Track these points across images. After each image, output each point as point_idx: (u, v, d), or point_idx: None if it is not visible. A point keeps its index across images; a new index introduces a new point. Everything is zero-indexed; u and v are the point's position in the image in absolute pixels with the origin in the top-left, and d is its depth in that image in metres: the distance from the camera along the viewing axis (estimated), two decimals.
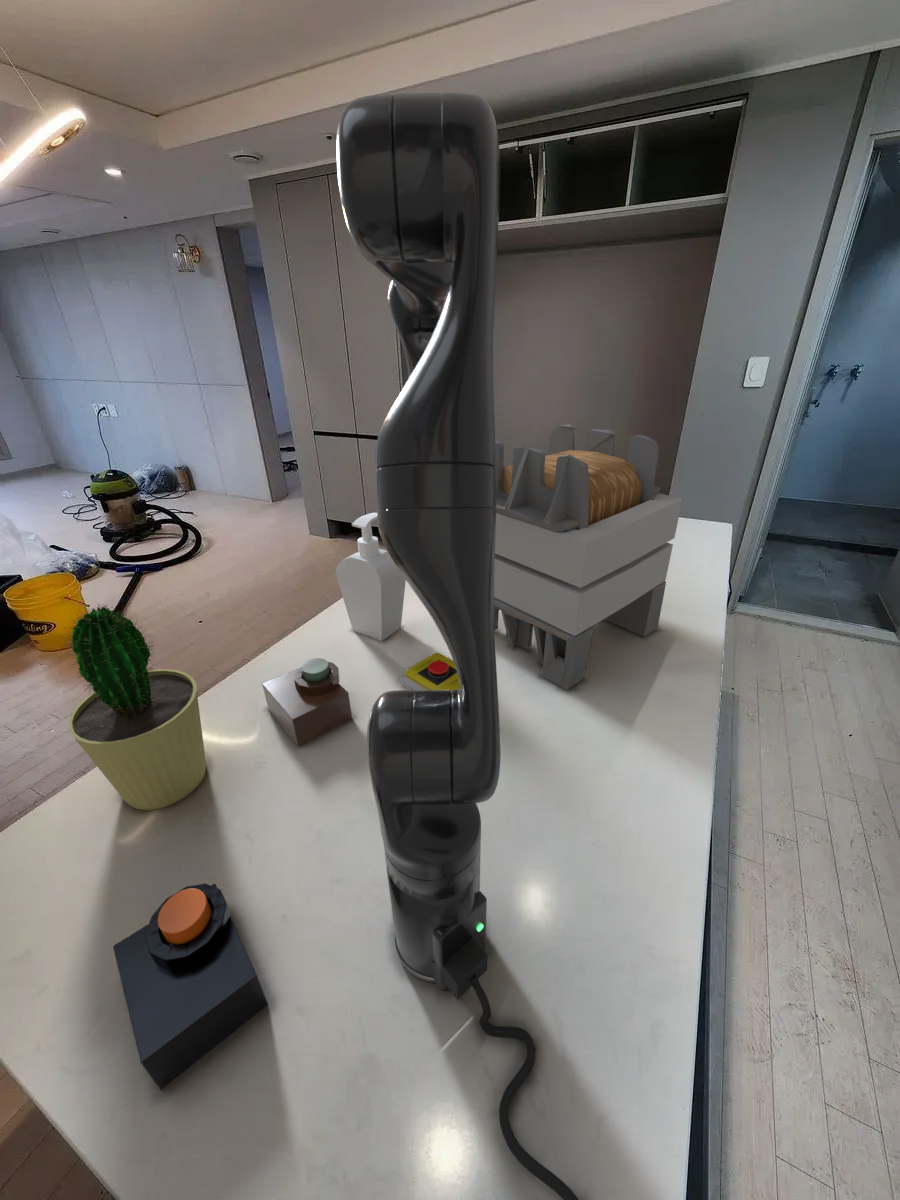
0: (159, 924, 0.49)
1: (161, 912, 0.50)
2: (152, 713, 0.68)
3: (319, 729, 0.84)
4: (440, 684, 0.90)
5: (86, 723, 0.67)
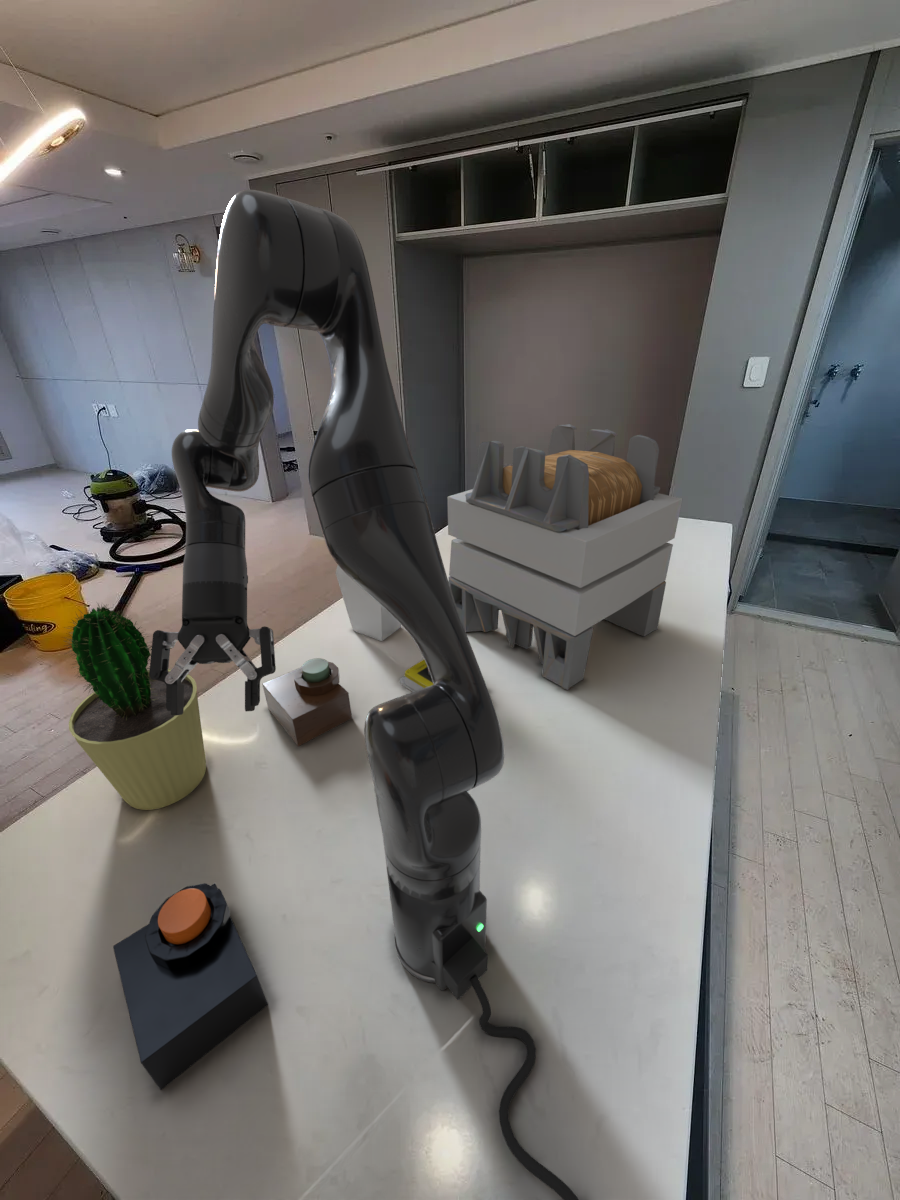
0: (159, 924, 0.49)
1: (161, 912, 0.50)
2: (152, 713, 0.68)
3: (319, 729, 0.84)
4: None
5: (86, 723, 0.67)
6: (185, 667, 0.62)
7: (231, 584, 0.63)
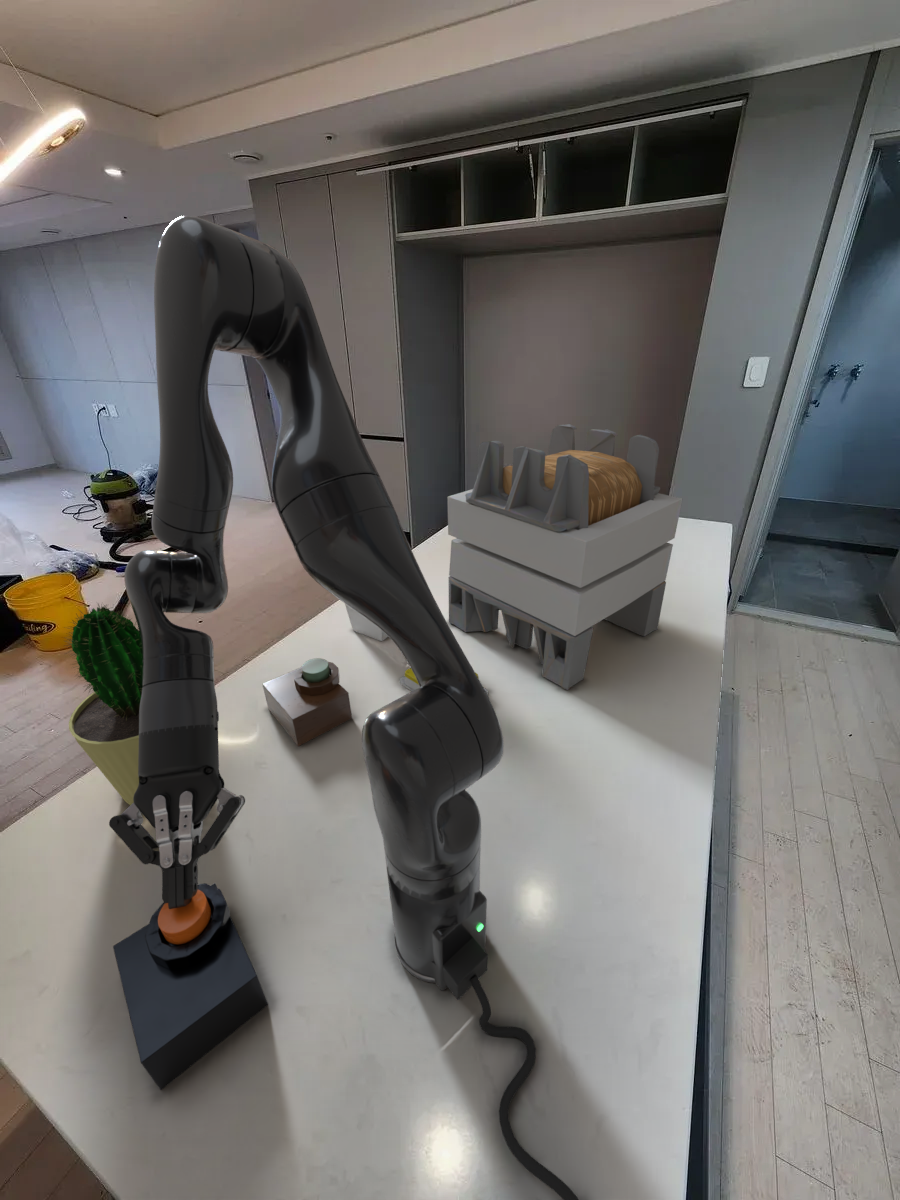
0: (159, 924, 0.49)
1: (161, 912, 0.50)
2: None
3: (319, 729, 0.84)
4: None
5: (86, 723, 0.67)
6: (171, 837, 0.51)
7: (197, 728, 0.52)
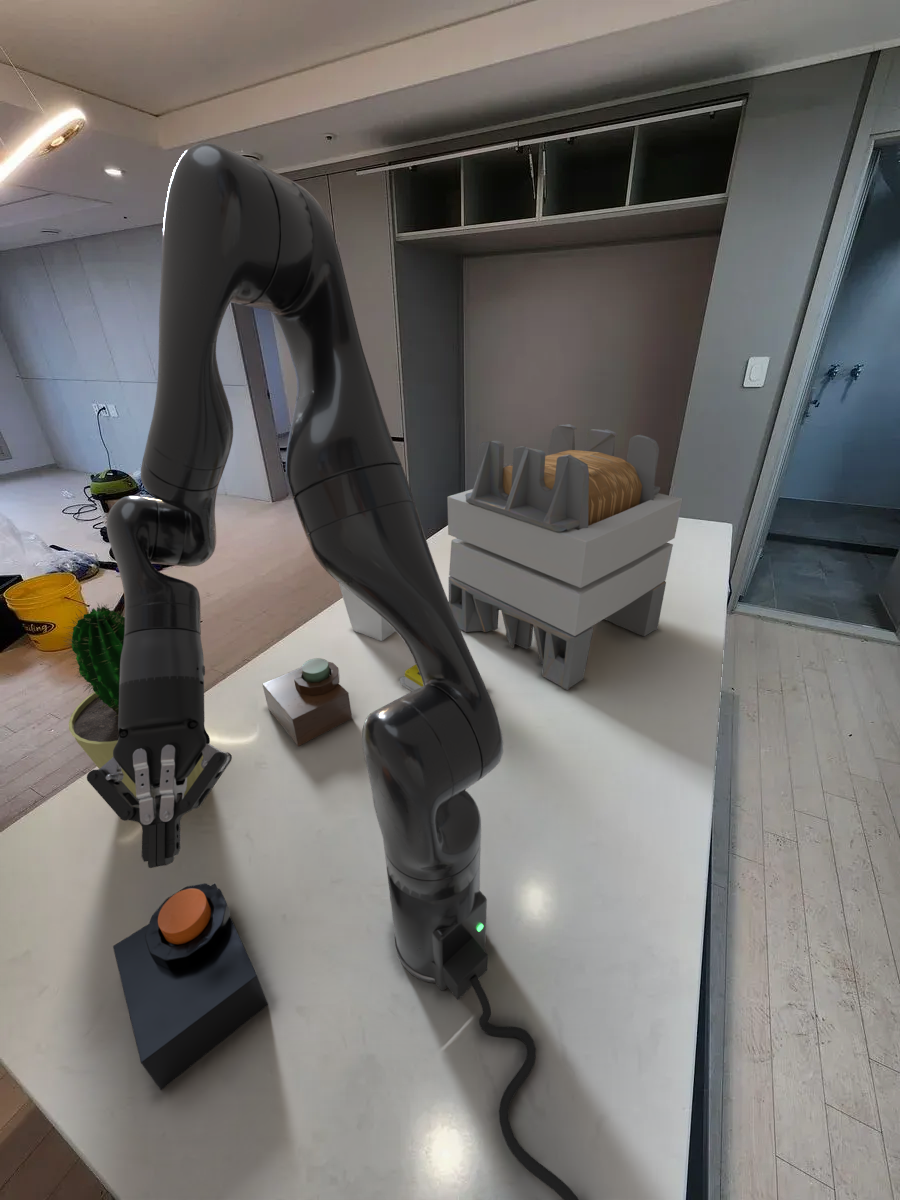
0: (159, 924, 0.49)
1: (161, 912, 0.50)
2: None
3: (319, 729, 0.84)
4: None
5: (86, 723, 0.67)
6: (152, 793, 0.48)
7: (180, 679, 0.50)
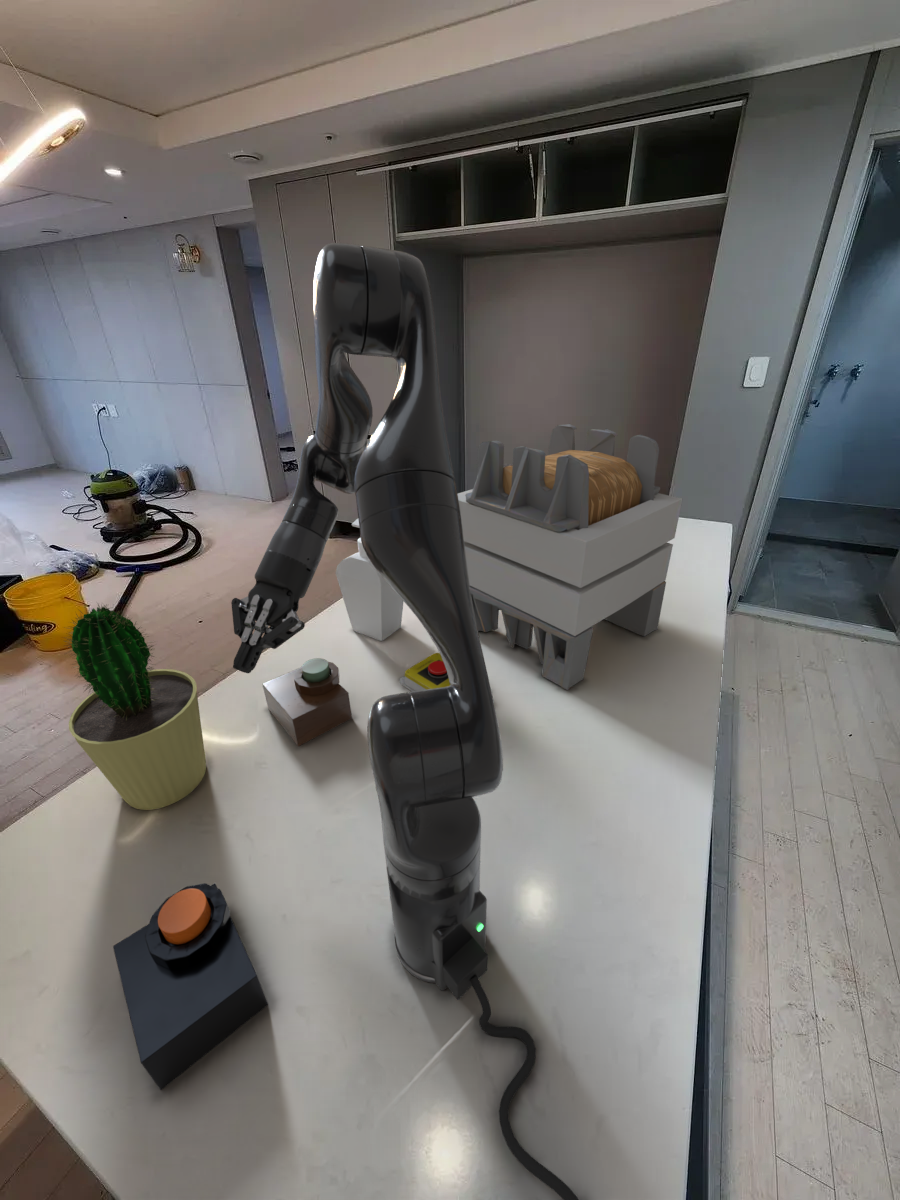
0: (159, 924, 0.49)
1: (161, 912, 0.50)
2: (152, 713, 0.68)
3: (319, 729, 0.84)
4: (440, 684, 0.90)
5: (86, 723, 0.67)
6: (252, 624, 0.72)
7: (292, 560, 0.71)
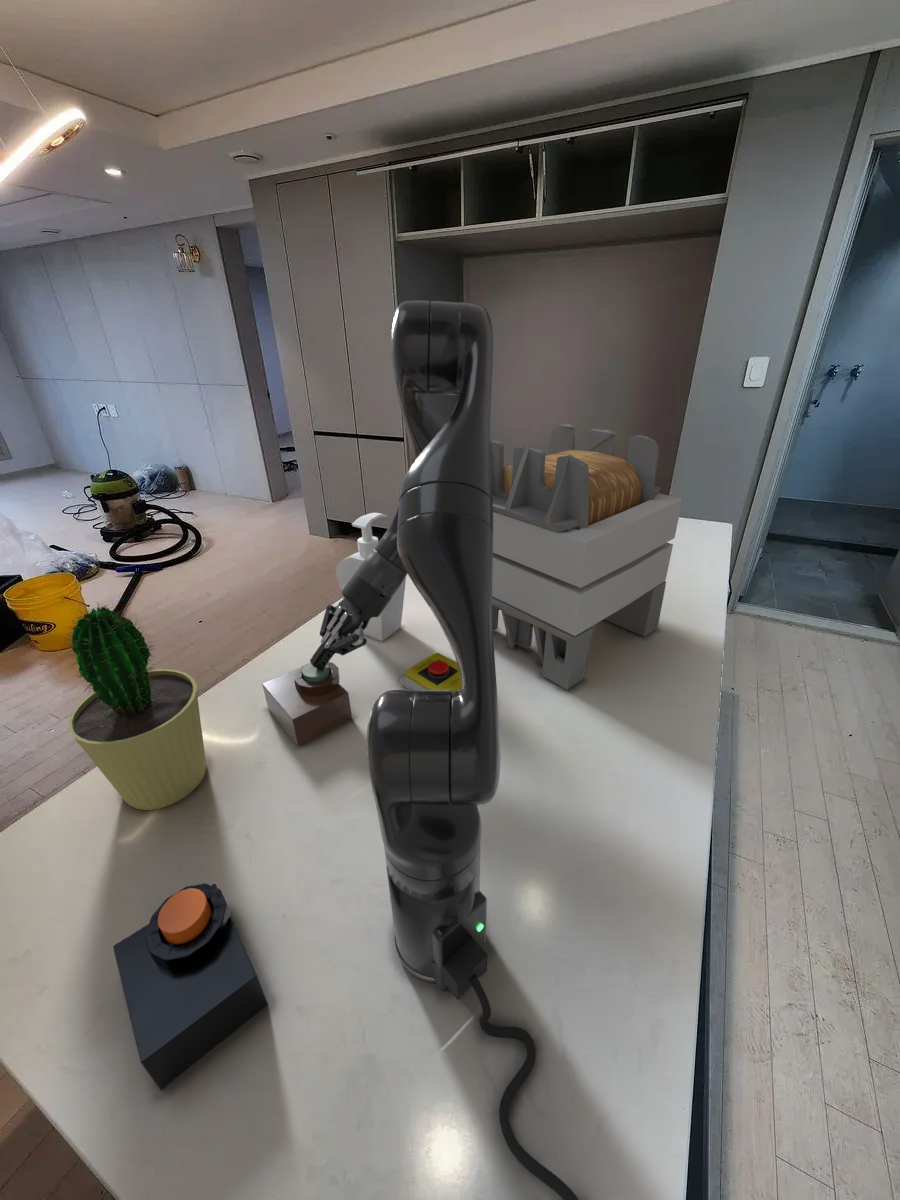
0: (159, 924, 0.49)
1: (161, 912, 0.50)
2: (152, 713, 0.68)
3: (319, 729, 0.84)
4: (440, 684, 0.90)
5: (86, 723, 0.67)
6: (331, 631, 0.85)
7: (368, 585, 0.82)
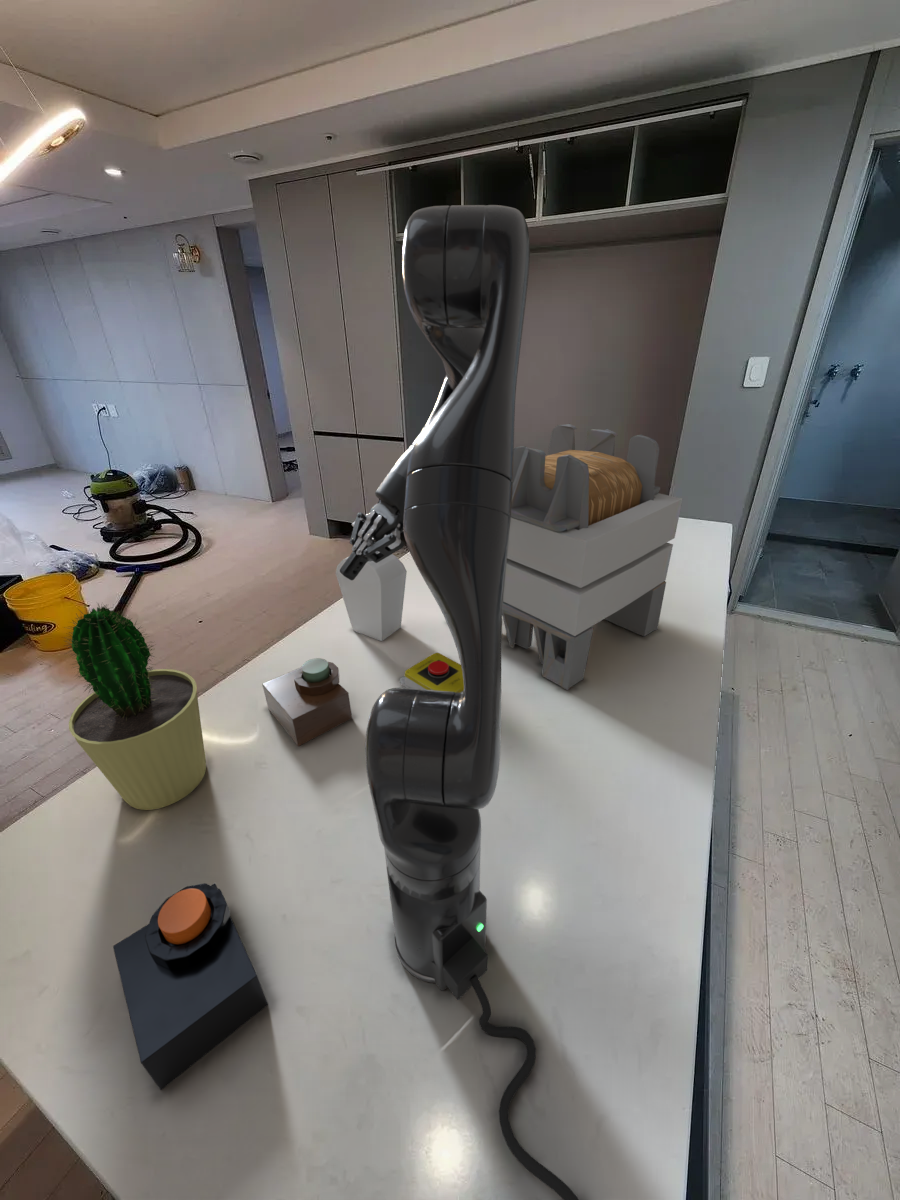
0: (159, 924, 0.49)
1: (161, 912, 0.50)
2: (152, 713, 0.68)
3: (319, 729, 0.84)
4: (440, 684, 0.90)
5: (86, 723, 0.67)
6: (363, 536, 0.77)
7: (406, 481, 0.73)
